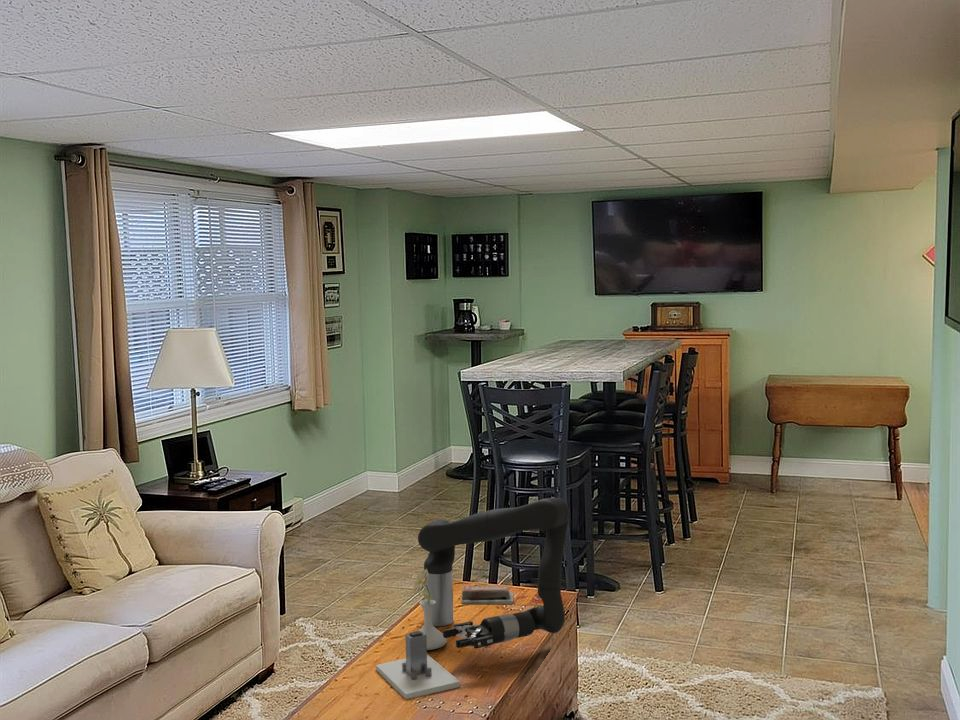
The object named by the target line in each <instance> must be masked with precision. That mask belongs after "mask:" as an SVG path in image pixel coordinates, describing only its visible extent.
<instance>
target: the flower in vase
mask: <svg viewBox="0 0 960 720" xmlns="http://www.w3.org/2000/svg"><path fill="white" fill-rule="evenodd" d="M427 580H428V570H427V569H426V570H424V568H422V569H421V570H420V572H418V573H417V576H416V579H415V580H414V581H413V584H414V586H413V589H412V591H413V593H414V594H420V592H422V596H423V597H424V598H425V597H426V598H427V599H426V600H425V599H422V600H420V601H419V605H420V606H421V608H422V610H423V619H424V621H423V625H422V627H421V628H420V629H418V631H422V632H423V633H425V634H426V635H427V651H432V650H436V649H440V648H443V647H444V646H445V645H446V644H447V643H448V638H444V637H443V631H442V632H441V631H440V630H438V629H437V628H436V626H433V625H432V609H433V606H434V604H435V603H436V601H434V600H430V597H431V595H430V592H429V589H428V587H427V585H426V583H427ZM424 586H426V588H427V590H428V591H427V590H426V589H425V588H424Z"/></svg>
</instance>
